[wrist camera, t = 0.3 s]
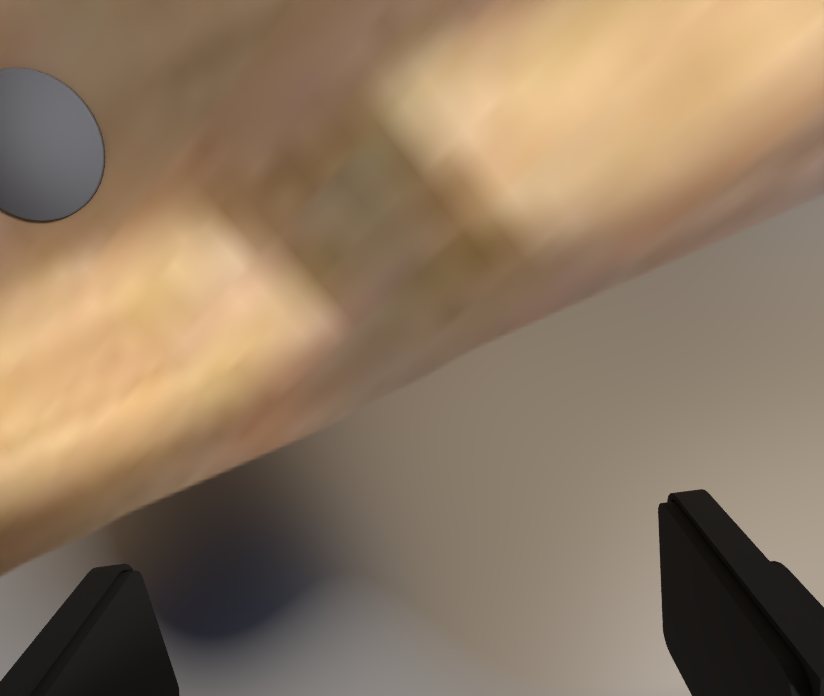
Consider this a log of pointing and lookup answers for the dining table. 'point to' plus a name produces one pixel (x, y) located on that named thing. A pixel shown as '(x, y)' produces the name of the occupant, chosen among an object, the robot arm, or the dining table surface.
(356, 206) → the dining table surface
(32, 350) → the dining table surface
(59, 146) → the felt coaster
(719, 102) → the dining table surface
